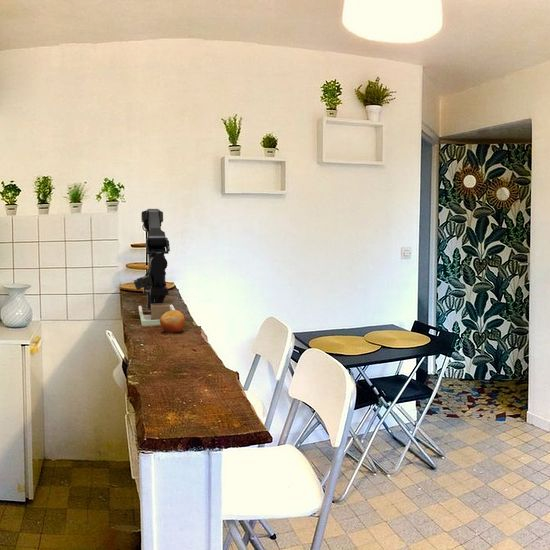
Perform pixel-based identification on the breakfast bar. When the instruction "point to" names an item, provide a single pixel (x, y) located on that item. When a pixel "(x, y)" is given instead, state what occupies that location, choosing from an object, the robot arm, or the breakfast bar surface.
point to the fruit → (172, 321)
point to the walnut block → (159, 310)
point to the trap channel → (147, 318)
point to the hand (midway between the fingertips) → (158, 310)
